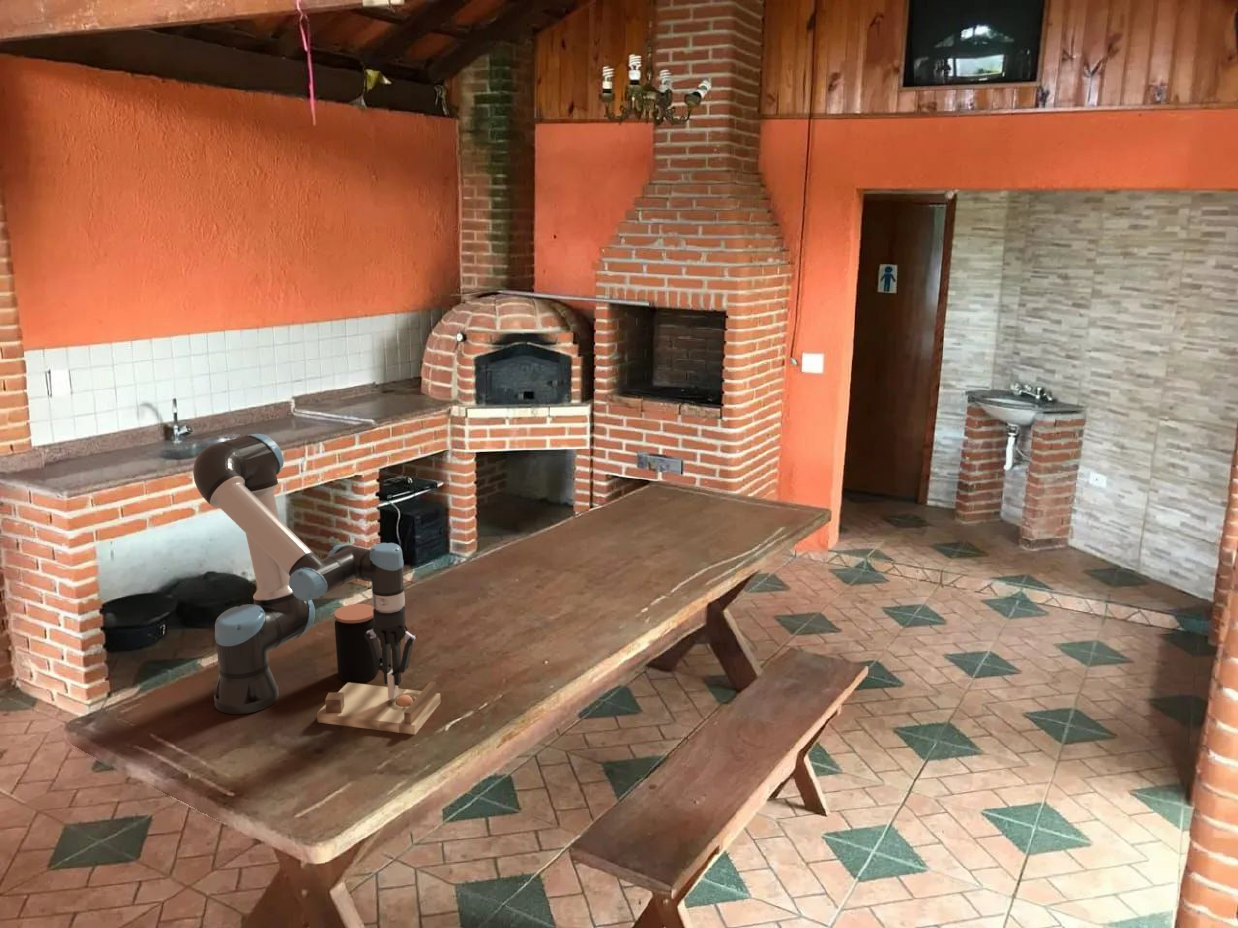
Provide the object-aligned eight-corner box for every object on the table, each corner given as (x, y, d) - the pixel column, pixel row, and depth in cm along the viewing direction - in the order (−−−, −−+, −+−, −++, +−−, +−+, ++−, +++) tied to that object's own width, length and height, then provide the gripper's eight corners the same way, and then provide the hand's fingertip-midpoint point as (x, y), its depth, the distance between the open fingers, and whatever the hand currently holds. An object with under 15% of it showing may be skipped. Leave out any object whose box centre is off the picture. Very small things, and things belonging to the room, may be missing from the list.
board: (317, 722, 243) (316, 701, 242) (348, 691, 258) (347, 671, 257) (415, 734, 238) (414, 713, 237) (440, 702, 253) (439, 682, 252)
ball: (403, 717, 247) (390, 706, 247) (410, 711, 251) (397, 700, 251) (412, 705, 246) (399, 695, 247) (418, 699, 250) (406, 689, 250)
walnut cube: (326, 713, 242) (325, 699, 242) (329, 706, 246) (328, 692, 245) (341, 713, 243) (340, 699, 242) (344, 705, 246) (343, 692, 245)
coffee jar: (387, 674, 267) (384, 611, 263) (352, 688, 260) (348, 623, 255) (365, 662, 275) (361, 600, 270) (330, 675, 267) (325, 611, 262)
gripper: (356, 610, 240) (362, 700, 247) (408, 616, 238) (412, 706, 244) (370, 598, 247) (375, 686, 254) (420, 603, 245) (424, 692, 251)
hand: (393, 696), depth 249 cm, fingers closed
